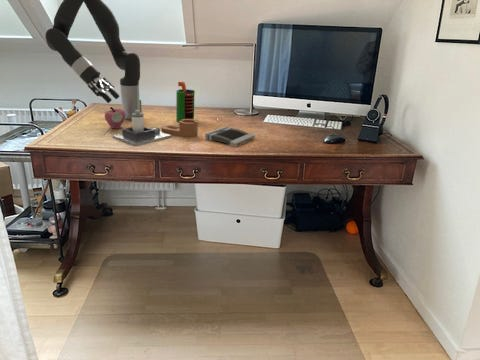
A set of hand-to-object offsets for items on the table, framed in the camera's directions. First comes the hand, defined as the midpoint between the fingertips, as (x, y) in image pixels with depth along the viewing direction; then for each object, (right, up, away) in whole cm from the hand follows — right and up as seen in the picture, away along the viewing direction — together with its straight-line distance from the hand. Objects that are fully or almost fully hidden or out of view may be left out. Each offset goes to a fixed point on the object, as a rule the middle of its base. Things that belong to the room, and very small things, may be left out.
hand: (114, 99), depth 168 cm
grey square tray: (+50, -16, +12) cm, 54 cm away
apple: (-5, -10, +19) cm, 22 cm away
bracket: (+26, -13, +15) cm, 33 cm away
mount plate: (+10, -15, +7) cm, 20 cm away
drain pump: (+9, -15, +5) cm, 18 cm away
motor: (+25, -3, +38) cm, 46 cm away
